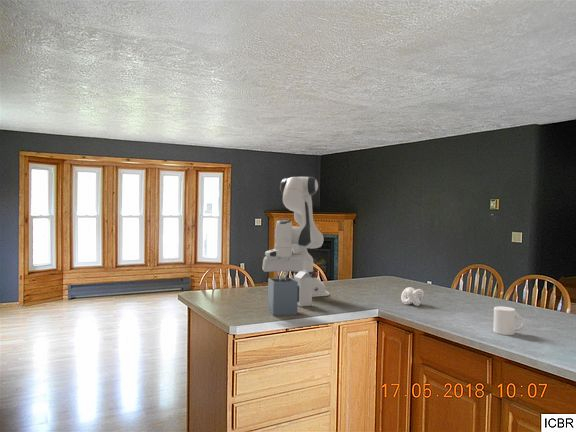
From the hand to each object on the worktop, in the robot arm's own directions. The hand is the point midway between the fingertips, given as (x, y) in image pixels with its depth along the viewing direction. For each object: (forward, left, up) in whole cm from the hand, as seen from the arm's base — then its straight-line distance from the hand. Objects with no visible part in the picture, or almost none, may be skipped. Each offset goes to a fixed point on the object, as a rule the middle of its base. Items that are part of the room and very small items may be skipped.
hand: (282, 280), depth 220 cm
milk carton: (-15, -14, -16) cm, 26 cm away
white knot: (-75, -3, -16) cm, 77 cm away
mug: (-85, +56, -16) cm, 103 cm away
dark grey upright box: (-1, 0, -16) cm, 16 cm away
